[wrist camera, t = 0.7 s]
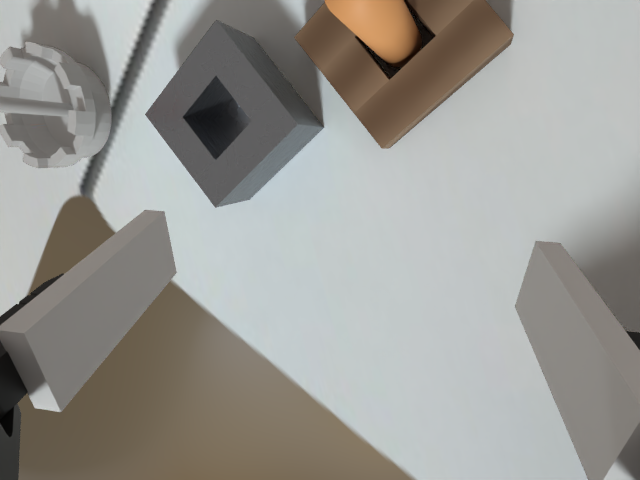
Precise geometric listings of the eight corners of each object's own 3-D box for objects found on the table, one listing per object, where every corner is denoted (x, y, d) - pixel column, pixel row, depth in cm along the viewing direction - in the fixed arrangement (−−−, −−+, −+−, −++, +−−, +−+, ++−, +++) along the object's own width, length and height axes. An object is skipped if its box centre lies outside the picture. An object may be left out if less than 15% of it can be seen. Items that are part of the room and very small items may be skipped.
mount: (510, 44, 31) (513, 34, 28) (389, 148, 36) (381, 148, 33) (413, -73, 31) (407, -94, 29) (307, 45, 36) (294, 37, 34)
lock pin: (430, 44, 33) (401, -20, 20) (397, 76, 34) (349, 35, 22) (404, 12, 33) (358, -72, 20) (372, 45, 34) (310, -14, 22)
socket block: (323, 127, 38) (297, 124, 32) (249, 199, 42) (215, 207, 37) (253, 37, 38) (216, 19, 33) (187, 118, 43) (145, 114, 37)
